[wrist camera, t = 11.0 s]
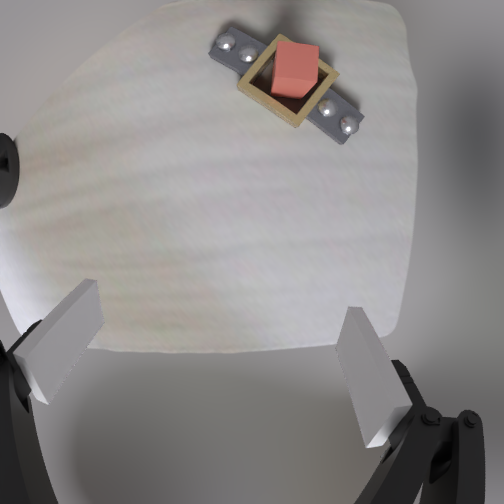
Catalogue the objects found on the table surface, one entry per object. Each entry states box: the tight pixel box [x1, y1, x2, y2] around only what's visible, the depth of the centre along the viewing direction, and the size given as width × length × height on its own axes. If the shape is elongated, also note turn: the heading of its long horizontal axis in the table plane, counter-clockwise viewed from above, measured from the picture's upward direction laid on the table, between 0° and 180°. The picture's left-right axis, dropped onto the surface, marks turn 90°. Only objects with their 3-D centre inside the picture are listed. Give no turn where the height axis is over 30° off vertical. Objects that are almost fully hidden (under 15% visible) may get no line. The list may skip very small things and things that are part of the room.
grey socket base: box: [208, 26, 365, 144], centre depth 31 cm, size 21×9×4 cm, turn 55°
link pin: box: [270, 41, 319, 99], centre depth 27 cm, size 4×4×11 cm
